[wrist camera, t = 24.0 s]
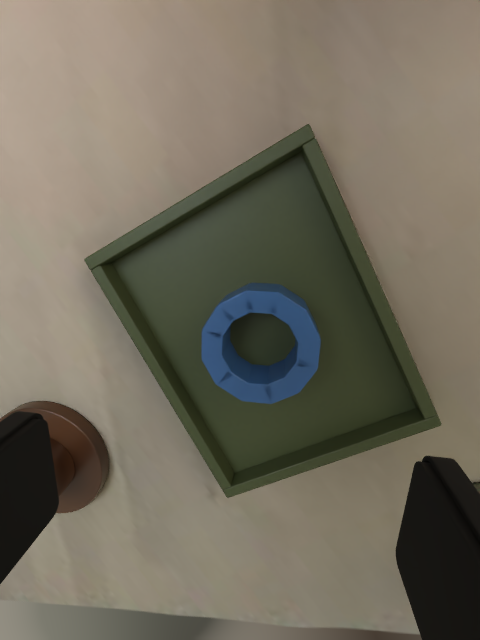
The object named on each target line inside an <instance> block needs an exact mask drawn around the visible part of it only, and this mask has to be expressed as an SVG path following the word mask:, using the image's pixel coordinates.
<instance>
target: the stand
mask: <svg viewBox="0 0 480 640" xmlns="http://www.w3.org/2000/svg"><path fill="white" fill-rule="evenodd" d="M17 411H22V412H31V413H39V414H41V415H42V416H43V419H44V420H46V421H47V423H48V428H49V435H50V442H51V449H52V456H53V462H54V469H55V476H56V483H57V490H58V497H59V505H58V509H57V511H56V513H68V512H73V511H76V510H79V509H81V508H83V507H85V506H86V505H88V504H89V503H90V502H91V501H92V500H93V499H94V498H95V497H96V495H97V494H98V492H99V491H100V490H101V488H102V487H103V485H104V483H105V482H106V479H107V476H108V471H109V458H108V453H107V449H106V447H105V444H104V442H103V440H102V438H101V436H100V435H99V433H98V432H97V431H96V429H95V428H94V427H93V426H92V425H91V423H90V422H89V421H87V420H86V419H85V418H84V417H83V416H81V415H80V414H79V413H77V412H76V411H74V410H72V409H70V408H68V407H66V406H63V405H60V404H57V403H53V402H47V401H36V402H29V403H25V404H23V405H20V406H18V407H17V408H15V409H14V410H12V411H11V412H9V413H7V414H6V415H4V416H3V417H2V418H1V419H0V422H1V421H2V420H3V419H5V418H6V417H8V416H9V415H11V414H12V413H14V412H17Z"/></svg>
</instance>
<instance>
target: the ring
mask: <svg viewBox="0 0 480 640" xmlns="http://www.w3.org/2000/svg"><path fill="white" fill-rule="evenodd" d="M249 313H265V314H272V315H274V316H276V317H277V318H279V319H280V320H282V321H283V322H285V323H286V324H288V325H289V326H290V328H291V330H292V332H293V334H294V336H295V346H294V347H293V349H292V350H291V351H290V353H289V354H288V355H287V357H286V358H285V359H284V360H282V361H279V362H277V363H275V364H272V365H270V366H266V365H254V364H251V363H249V362H248V361H246V360H245V359H243V358H241V357H240V356H238V354H237V352H236V350H235V348H234V347H233V345H232V343H231V341H230V328H231V324H232V322H233V321H234V320H236V319H239V318H241V317H243V316H245V315H247V314H249ZM320 344H321V339H320V334H319V331H318V328H317V325H316V323H315V321H314V319H313V317H312V315H311V313H310V311H309V308H308V306H307V304H306V302H305V301H304V300H303V299H302V298H300V297H299V296H297V295H296V294H294V293H293V292H291V291H290V290H288V289H287V288H285V287H284V286H282V285H280V284H268V283H249V284H247V285H245V286H243V287H241V288H239V289H237V290H235V291H233V292H231V293H229V294H228V295H226V296H225V297H224V298H223V299H222V300H221V302H220V303H219V304H218V305H217V306H216V308H215V309H214V311H213V312H212V314H211V316H210V317H209V319H208V320H207V322H206V324H205V325H204V327H203V328H202V361H203V363H204V365H205V366H206V368H207V370H208V372H209V373H210V375H211V377H212V379H213V381H214V382H215V384H216V385H217V386H219V387H221V388H222V389H224V390H225V391H227V392H228V393H230V394H231V395H233V396H235V397H236V398H238V399H239V400H241V401H246V402H256V403H266V404H273V403H275V402H278V401H280V400H283V399H285V398H288V397H290V396H293V395H295V394H298V393H299V392H300V391H301V390H302V389H303V388H304V386H305V385H306V384H307V382H308V381H309V380H310V379H311V377H312V376H313V375H314V374H315V372H316V371H317V368H318V363H319V354H320Z"/></svg>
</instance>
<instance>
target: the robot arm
mask: <svg viewBox="0 0 480 640" xmlns="http://www.w3.org/2000/svg"><path fill="white" fill-rule="evenodd" d="M58 505H59V497H58V490H57V483H56V476H55V469H54V462H53V456H52V449H51V442H50V435H49V428H48V423H47V421H46V420H44V419H43V416H42V415H41V414H39V413H31V412H22V411H17V412H14V413H12V414H11V415H9V416H8V417H6V418H5V419H3V420H2V421H1V422H0V584H1V583H2V581H3V580H4V579H5V578H6V576H7V575H8V574H9V573H10V571H11V570H12V569H13V567H14V566H15V565H16V564H17V562H18V561H19V560H20V559H21V557H22V556H23V555H24V554H25V552H26V551H27V550H28V548H29V547H30V546H31V545H32V543H33V542H34V541H35V540H36V538H37V537H38V536H39V534H40V533H41V532H42V531H43V529H44V528H45V527H46V526H47V524H48V523H49V522H50V520H51V519H52V518H53V517H54V515H55V513H56V511H57V509H58ZM396 560H397V565H398V569H399V572H400V575H401V578H402V581H403V584H404V587H405V590H406V593H407V596H408V599H409V602H410V605H411V608H412V611H413V614H414V617H415V620H416V623H417V626H418V629H419V632H420V635H421V638H422V640H480V494H479V492H478V491H477V489H476V488H475V487H474V485H473V484H472V483H471V481H470V480H469V478H468V477H467V476H466V474H465V473H464V472H463V470H462V469H461V467H460V466H459V465H458V463H457V462H456V461H455V460H453V459H451V458H442V457H433V456H425V457H424V458H423V460H422V462H419V461H418V462H416V463H415V465H414V469H413V473H412V478H411V483H410V487H409V492H408V496H407V501H406V505H405V510H404V514H403V519H402V523H401V528H400V532H399V537H398V541H397V546H396Z"/></svg>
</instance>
